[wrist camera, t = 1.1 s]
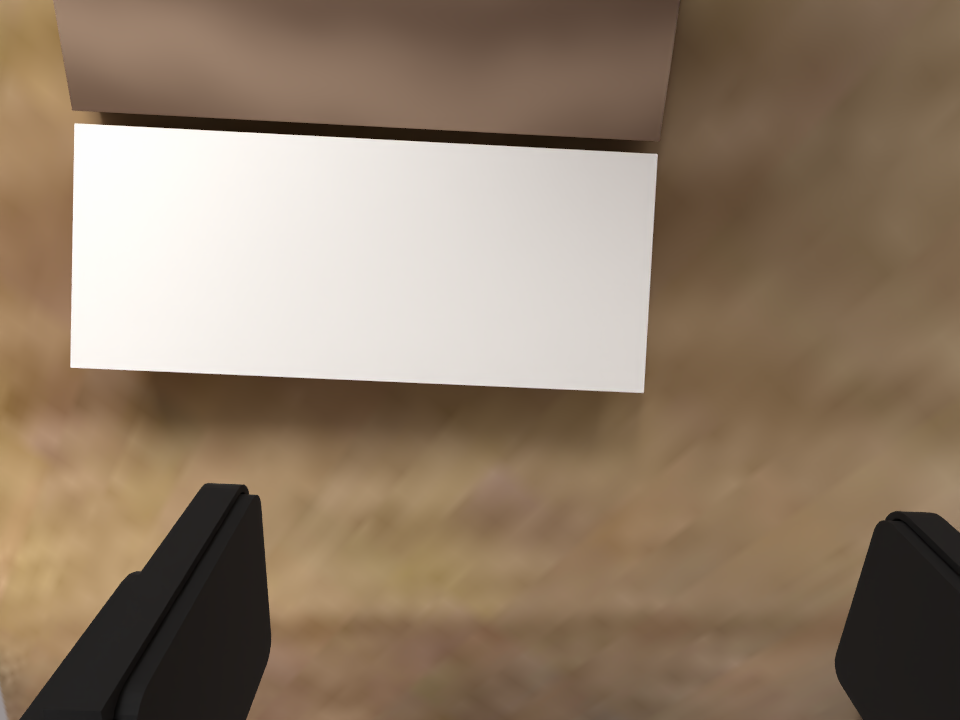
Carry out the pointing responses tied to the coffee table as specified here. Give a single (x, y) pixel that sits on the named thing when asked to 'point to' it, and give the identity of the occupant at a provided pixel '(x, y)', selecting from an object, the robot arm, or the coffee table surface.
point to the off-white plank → (360, 259)
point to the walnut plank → (379, 62)
